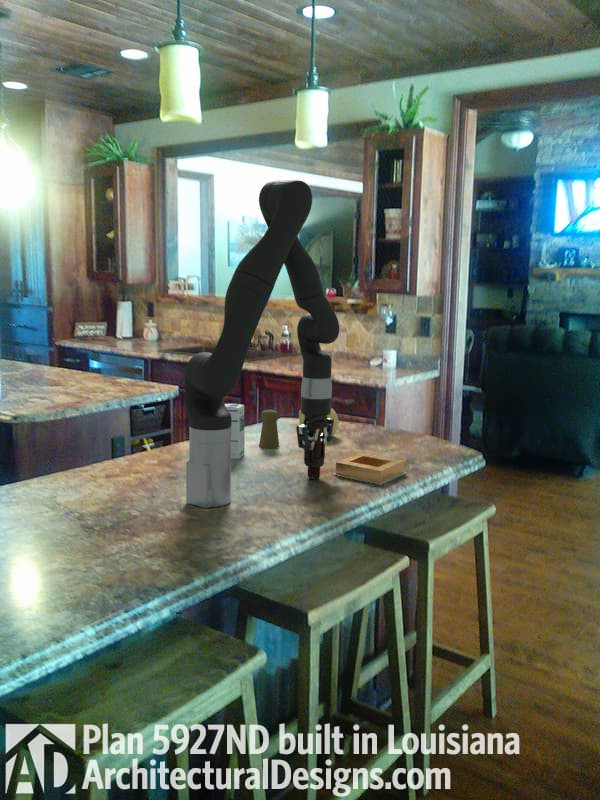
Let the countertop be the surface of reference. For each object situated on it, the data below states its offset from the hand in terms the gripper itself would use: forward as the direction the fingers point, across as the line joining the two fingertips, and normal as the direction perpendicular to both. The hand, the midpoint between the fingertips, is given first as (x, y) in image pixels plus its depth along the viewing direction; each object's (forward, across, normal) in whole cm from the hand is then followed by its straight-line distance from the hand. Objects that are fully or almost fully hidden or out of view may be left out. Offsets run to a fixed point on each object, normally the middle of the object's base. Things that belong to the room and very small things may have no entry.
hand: (314, 461), depth 181 cm
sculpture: (+5, +41, +25) cm, 48 cm away
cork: (+5, +20, +29) cm, 35 cm away
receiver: (+4, +13, -9) cm, 16 cm away
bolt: (+5, 0, 0) cm, 5 cm away
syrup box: (+5, +4, +30) cm, 31 cm away
